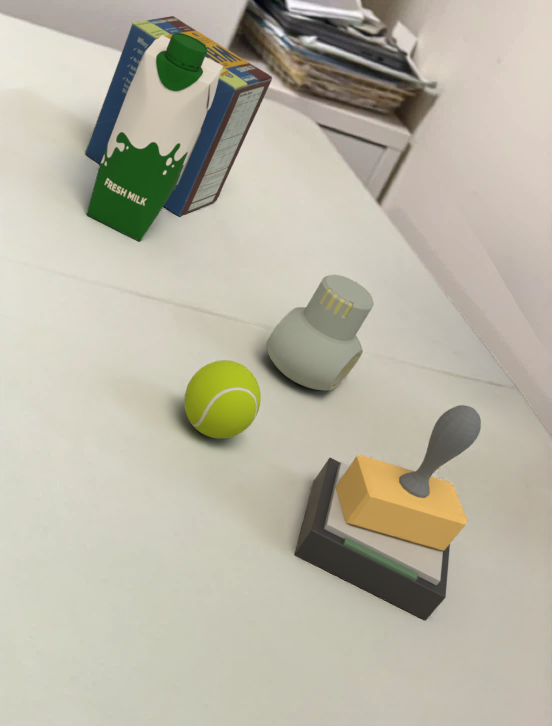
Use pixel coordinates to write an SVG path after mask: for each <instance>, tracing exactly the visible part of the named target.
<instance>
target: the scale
mask: <svg viewBox="0 0 552 726" xmlns="http://www.w3.org/2000/svg"><path fill="white" fill-rule="evenodd" d="M349 466H350V465H349V464H347V463H345V462H342V461H339V460H336V459H334V458H332V457H328V458H327V460H326V462H325V464H324V465H323V466H322V468H321V469H320V471H319V473H318V474H317V475H316V477H315V478H314V479H313V482H312V485H311V486H312V487H311V489H310V494H309V498H308V502H307V506H306V510H305V513H304V518H303V521H302V525H301V528H300V532H299V536H298V540H297V544H296V547H295V553H294V555H295V556H296V557H298V558H300V559H301V560H304V561H306V562H308V563H310V564H312V565H314V566H316V567H318V568H320V569H322V570H324V571H325V572H328V573H330V574H332V575H334V576H336V577H338V578H339V579H342V580H343V581H346V582H348V583H350V584H352V585H354V586H356V587H358V588H360V589H361V590H364V591H366V592H367V593H370V594H371V595H374V596H375V597H377V598H380V599H382V600H384V601H386V602H387V603H390V604H391V605H393V606H396V607H397V608H400V609H402V610H404V611H405V612H408V613H410V614H411V615H414V616H416V617H418V618H420V619H421V620H423V621H427V620H428V619H429V617H431V615H432V614H433V613H434V612H435V611H436V609H437V608H438V607H439V606H440V605H441V604H442V603H443V601H444V600H445V599H446V598H447V585H448V576H449V575H448V574H449V561H450V551H451V543H450V544H449V545H448V547H447V548H446V549H445V550H444V551H443V550H437V549H434V548H430V547H427V546H423V545H420V544H417V543H413V542H410V541H406V540H403V539H399V538H396V537H392V536H389V535H386V534H382V533H379V532H375V531H372V530H368V529H365V528H361V527H358V526H355V525H351V524H348V523H346V522H345V518H344V515H343V511H342V508H341V504H340V501H339V497H338V493H337V490H336V485H337V484H338V482H339V481H340V479H341V478H342V476H343V475H344V473H345V472H346V471H347V469H348V468H349Z"/></svg>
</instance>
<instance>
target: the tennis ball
mask: <svg viewBox="0 0 552 726" xmlns="http://www.w3.org/2000/svg"><path fill="white" fill-rule="evenodd" d="M261 397H262V396H261V388H260V385H259V382H258V380H257V378H256V376H255V375H254V374H253V372H252V371H251V370H250V369H249V368H248V367H247V366H245V365H244V364H241V363H239V362H236V361H234V360H229V359H228V360H227V359H223V360H215V361H211V362H210V363H207V364H205V365H203V366H202V367H201V368H199V369H198V370H197V371H196V372H195V373H194V374H193V376H192V377H191V379H190V380H189V382H188V384H187V386H186V389H185V393H184V400H183V401H184V411H185V414H186V417H187V419H188V421H189V423H190V424H191V425H192V427H193V428H194V429H195V430H197V432H199V433H200V434H202V435H204V436H206V437H209V438H213V439H230V438H234V437H235V436H238V435H239V434H241V433H243V432H244V431H246V430H247V429H248V428H249V427H251V425H252V424H253V422H254V421H255V419H256V418H257V415H258V413H259V410H260V406H261V400H262V398H261Z"/></svg>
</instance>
